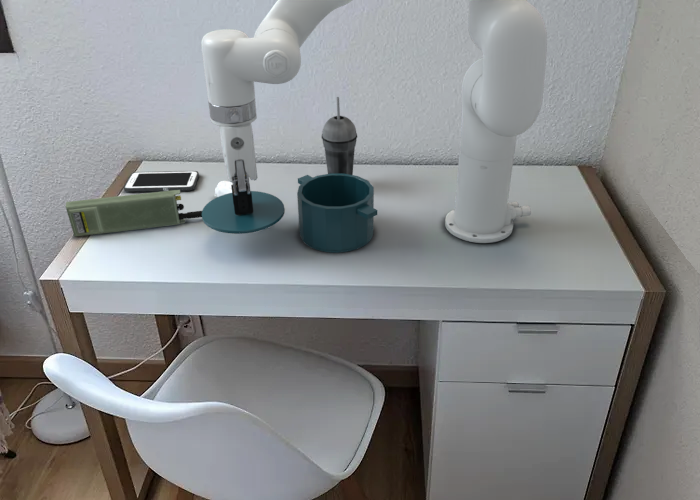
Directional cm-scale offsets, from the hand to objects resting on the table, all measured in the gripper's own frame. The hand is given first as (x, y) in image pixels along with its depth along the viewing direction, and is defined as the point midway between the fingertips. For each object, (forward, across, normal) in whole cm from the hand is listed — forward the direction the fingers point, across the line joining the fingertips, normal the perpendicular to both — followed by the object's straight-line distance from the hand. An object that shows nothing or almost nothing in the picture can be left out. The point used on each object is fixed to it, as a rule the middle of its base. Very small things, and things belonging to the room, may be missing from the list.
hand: (243, 208), depth 117 cm
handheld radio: (+7, +10, +19) cm, 23 cm away
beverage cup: (+7, +17, -21) cm, 28 cm away
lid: (+1, 0, 0) cm, 1 cm away
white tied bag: (+7, +15, +2) cm, 17 cm away
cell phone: (+7, +28, +16) cm, 32 cm away
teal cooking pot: (+7, -1, -17) cm, 18 cm away
